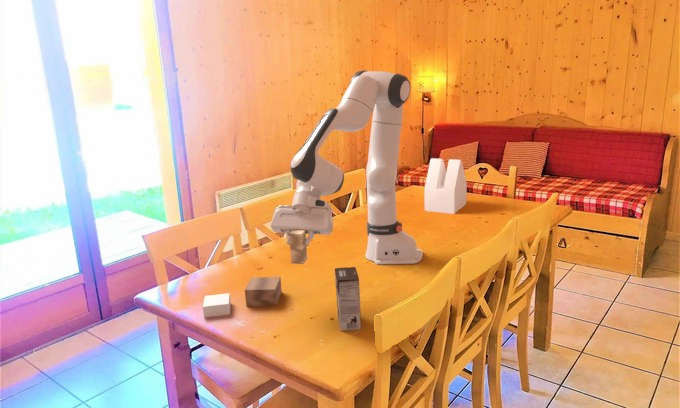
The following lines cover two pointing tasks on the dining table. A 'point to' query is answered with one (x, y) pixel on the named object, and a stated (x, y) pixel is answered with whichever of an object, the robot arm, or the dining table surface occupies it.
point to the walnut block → (263, 291)
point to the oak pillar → (298, 246)
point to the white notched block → (445, 186)
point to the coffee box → (348, 298)
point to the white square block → (217, 305)
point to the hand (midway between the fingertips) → (297, 244)
